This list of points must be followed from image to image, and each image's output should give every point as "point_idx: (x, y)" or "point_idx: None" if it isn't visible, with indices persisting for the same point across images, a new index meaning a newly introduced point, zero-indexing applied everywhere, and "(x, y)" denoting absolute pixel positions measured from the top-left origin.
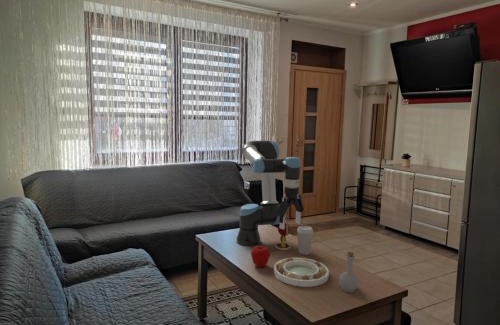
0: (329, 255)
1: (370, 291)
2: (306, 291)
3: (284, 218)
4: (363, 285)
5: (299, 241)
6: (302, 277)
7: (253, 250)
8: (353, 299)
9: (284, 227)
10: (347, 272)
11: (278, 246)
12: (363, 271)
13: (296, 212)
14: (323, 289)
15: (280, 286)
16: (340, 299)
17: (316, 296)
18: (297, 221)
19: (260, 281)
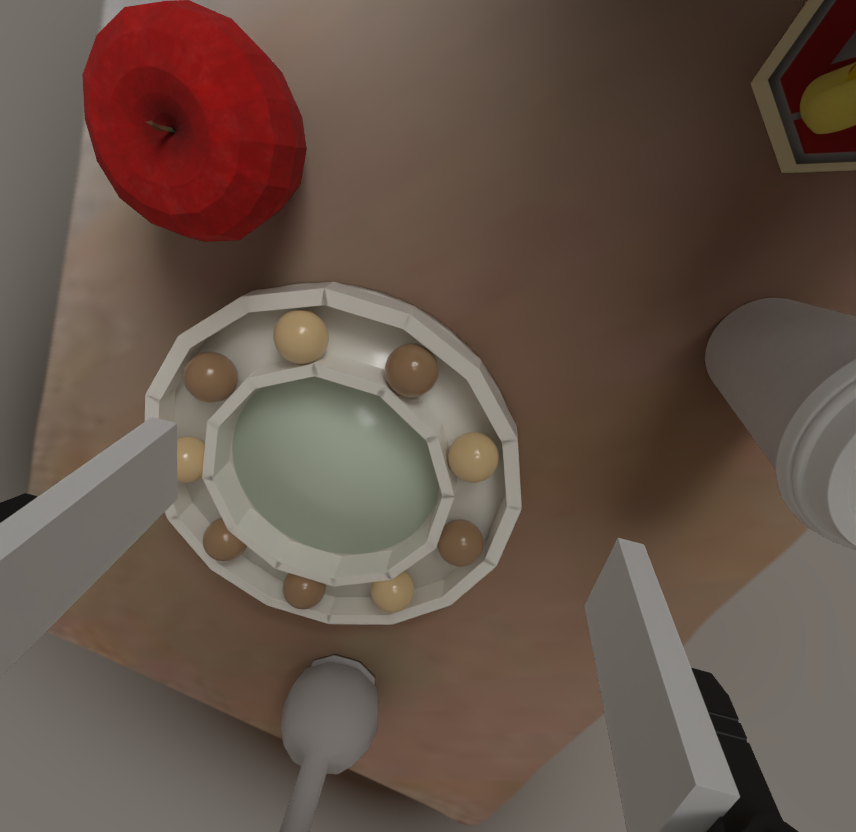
0: (776, 534)
1: (379, 745)
2: (179, 544)
3: (8, 649)
4: (418, 723)
5: (763, 359)
6: (205, 533)
7: (91, 60)
8: (265, 702)
9: (158, 516)
10: (303, 760)
11: (808, 40)
12: (587, 716)
13: (677, 768)
14: (257, 600)
15: (118, 419)
16: (227, 667)
17: (174, 589)
18: (609, 603)
19: (68, 287)
